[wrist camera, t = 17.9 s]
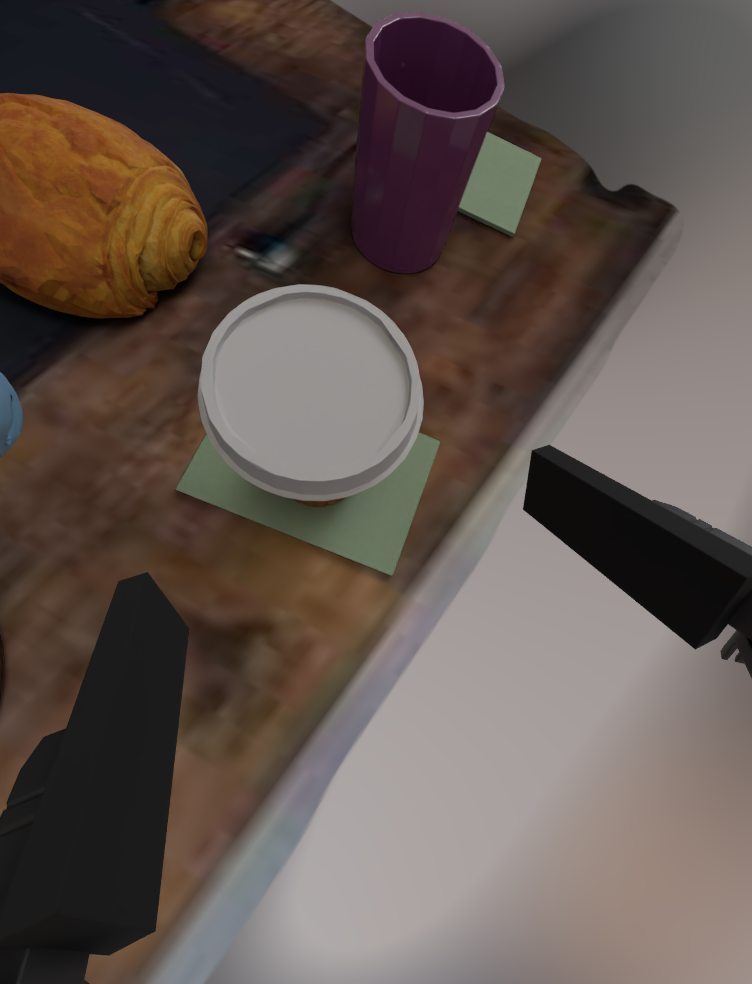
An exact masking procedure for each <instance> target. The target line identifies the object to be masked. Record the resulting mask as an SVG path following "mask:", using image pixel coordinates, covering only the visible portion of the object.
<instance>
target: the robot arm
mask: <svg viewBox="0 0 752 984" xmlns="http://www.w3.org/2000/svg"><path fill="white" fill-rule="evenodd" d="M22 426H23V412H22V407H21V404H20V401H19V399H18V396H17V394H16V392H15V391H14V389H13V387H12V386H11V384H10V383H9V382H8V380H7V379H6V377H5V376H4V375H3V374H2V373H1V372H0V457H1V456H2V455H4V454H5V453H6V452H7V451H8V450H9V449H10V448H11V447H12V446H13V444H14V443H15V441H16V440H17V439H18V437H19V434H20V432H21V430H22ZM523 510H524V511H526V512H527V513H528V514H529V515H531V516H532V517H533V518H534V519H536V520H537V521H538V522H539V523H540V524H542V525H543V526H544V527H545V528H547V529H548V530H549V531H550V532H552V533H553V534H554V535H555V536H557V537H558V538H559V539H560V540H561V541H563V542H564V543H565V544H566V545H568V546H569V547H570V548H571V549H573V550H574V551H575V552H576V553H577V554H579V555H580V556H581V557H582V558H584V559H585V560H586V561H587V562H588V563H590V564H591V565H592V566H593V567H595V568H596V569H597V570H598V571H600V572H601V573H602V574H603V575H604V576H606V577H607V578H608V579H609V580H611V581H612V582H613V583H614V584H616V585H617V586H618V587H619V588H620V589H622V590H623V591H624V592H625V593H627V594H628V595H629V596H630V597H631V598H633V599H634V600H635V601H636V602H638V603H639V604H640V605H641V606H643V607H644V608H645V609H646V610H647V611H649V612H650V613H651V614H652V615H654V616H655V617H656V618H657V619H659V620H660V621H661V622H662V623H664V624H665V625H666V626H667V627H668V628H670V629H671V630H672V631H673V632H675V633H676V634H677V635H678V636H680V637H681V638H682V639H683V640H685V641H686V642H687V643H688V644H689V645H691V646H692V647H693V648H694V649H697V648H699V647H701V646H703V645H705V644H707V643H708V642H710V641H712V640H714V639H716V638H717V637H718V636H719V635H720V633H721V632H722V631H723V629H724V628H725V627H726V626H727V624H729V625H730V626H732V627H733V628H735V629H736V632H735V633H734V634H733V636H732V637H731V638H730V639H729V640H728V642H727V643H726V644H725V645H724V647H723V648H722V650H721V657H722V659H725V660H727V659H728V658H729V657H730V656H731V655H732V654H733V652H734V651H735V650H736V649H737V648H738V650H739V653H738V654H737V655H736V658H735V662H739V663H744V664H745V665H746V667H747V669H748V671H749V673H750V676H751V678H752V547H751V546H749V545H747V544H745V543H744V542H741V541H740V540H738V539H736V538H734V537H732V536H730V535H728V534H726V533H725V532H723V531H721V530H719V529H717V528H712V526H711V525H709V524H708V523H706V522H704V521H702V520H700V519H699V520H697V519H696V517H694V516H692V515H691V514H689V513H687V512H685V511H683V510H681V509H679V508H677V507H675V506H672V505H669V504H666V503H662V502H659V501H656V500H653V501H651V500H649V499H648V498H646V497H644V496H642V495H640V494H638V493H637V492H635V491H633V490H631V489H629V488H627V487H626V486H624V485H622V484H620V483H618V482H616V481H615V480H613V479H611V478H609V477H607V476H605V475H604V474H602V473H600V472H598V471H596V470H594V469H592V468H591V467H589V466H587V465H585V464H583V463H582V462H580V461H578V460H576V459H574V458H572V457H570V456H569V455H567V454H565V453H563V452H561V451H559V450H558V449H556V448H554V447H552V446H550V445H548V446H544V447H541V448H538V449H535V450H532V454H531V460H530V467H529V474H528V480H527V488H526V493H525V500H524V507H523ZM188 635H189V627H188V626H187V625H186V623H185V622H184V621H183V619H182V618H181V617H180V615H179V614H178V613H177V611H176V610H175V609H174V607H173V606H172V604H171V603H170V602H169V600H168V599H167V598H166V596H165V595H164V594H163V592H162V591H161V590H160V588H159V587H158V586H157V584H156V583H155V581H154V580H153V579H152V577H151V576H150V575H149V573H148V572H146V573H143V574H140V575H137V576H134V577H131V578H127V579H124V580H121V581H118V584H117V587H116V590H115V593H114V595H113V598H112V601H111V604H110V607H109V609H108V612H107V615H106V618H105V621H104V623H103V626H102V629H101V632H100V635H99V637H98V640H97V643H96V646H95V649H94V652H93V654H92V657H91V660H90V663H89V666H88V668H87V671H86V674H85V677H84V680H83V682H82V685H81V688H80V691H79V694H78V696H77V699H76V702H75V705H74V708H73V711H72V713H71V716H70V719H69V722H68V725H67V727H66V729H63V730H61V731H58V732H56V733H53V734H50V735H48V736H45V737H43V739H42V740H41V741H40V743H39V744H38V746H37V747H36V748H35V750H34V751H33V753H32V754H31V756H30V757H29V758H28V760H27V761H26V763H25V764H24V765H23V767H22V768H21V770H20V772H19V774H18V777H17V779H16V782H15V784H14V786H13V789H12V791H11V794H10V796H9V798H8V801H7V803H6V804H7V809H6V810H4V811H3V813H2V815H1V817H0V984H89V983H88V982H87V981H85V980H84V978H85V973H86V968H87V963H88V958H89V954H97V955H111V954H113V953H115V952H116V951H118V950H120V949H122V948H124V947H126V946H128V945H130V944H132V943H134V942H136V941H138V940H139V939H141V938H143V937H145V936H147V935H149V934H151V933H153V932H155V931H156V922H157V913H158V904H159V895H160V886H161V877H162V868H163V859H164V850H165V841H166V832H167V824H168V815H169V806H170V797H171V788H172V779H173V770H174V761H175V752H176V743H177V734H178V725H179V716H180V707H181V698H182V689H183V680H184V671H185V662H186V653H187V644H188ZM4 671H5V661H4V649H3V644H2V639H1V636H0V699H1V695H2V691H3V683H4Z"/></svg>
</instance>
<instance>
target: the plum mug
mask: <svg viewBox="0 0 752 984" xmlns="http://www.w3.org/2000/svg"><path fill="white" fill-rule="evenodd" d="M503 90H504V80H503V73H502V68H501V66H500V64H499V62H498V60H497V59H496V57H495V55H494V54H493V52H492V51H491V49H490V48H489V46H487V45H486V44H485V43H484V42H483V41H482V40H481V39H479V38H478V37H477V36H476V35H475V34H474V33H473V32H472V31H470V30H469V29H467V28H465V27H463V26H461V25H459V24H457V23H455V22H453V21H451V20H449V19H447V18H444V17H439V16H436V15H431V14H426V13H422V12H409V13H396V14H393V15H391V16H389V17H387V18H385V19H383V20H381V21H379V22H377V23H376V24H375V25H374V27H373V28H372V30H371V31H370V33H369V35H368V36H367V38H366V40H365V51H364V64H363V76H362V88H361V100H360V112H359V125H358V137H357V149H356V161H355V173H354V186H353V198H352V210H351V233H352V238H353V240H354V243H355V245H356V246H357V248H358V250H359V251H360V252H361V253H362V255H363V256H364V257H365V258H366V259H368V260H369V261H370V262H372V263H373V264H375V265H376V266H378V267H380V268H382V269H384V270H387V271H390V272H394V273H402V274H410V273H417V272H420V271H423V270H425V269H427V268H429V267H430V266H432V265H433V264H434V263H435V262H436V261H437V260H438V258H439V257H440V255H441V253H442V251H443V248H444V246H445V243H446V241H447V238H448V236H449V233H450V230H451V228H452V225H453V222H454V220H455V217H456V214H457V212H458V209H459V207H460V204H461V201H462V199H463V196H464V193H465V191H466V188H467V185H468V183H469V180H470V178H471V175H472V172H473V170H474V167H475V164H476V162H477V159H478V156H479V154H480V151H481V148H482V146H483V143H484V141H485V138H486V135H487V133H488V130H489V127H490V125H491V122H492V119H493V117H494V114H495V112H496V109H497V106H498V104H499V101H500V98H501V96H502V93H503Z"/></svg>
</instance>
